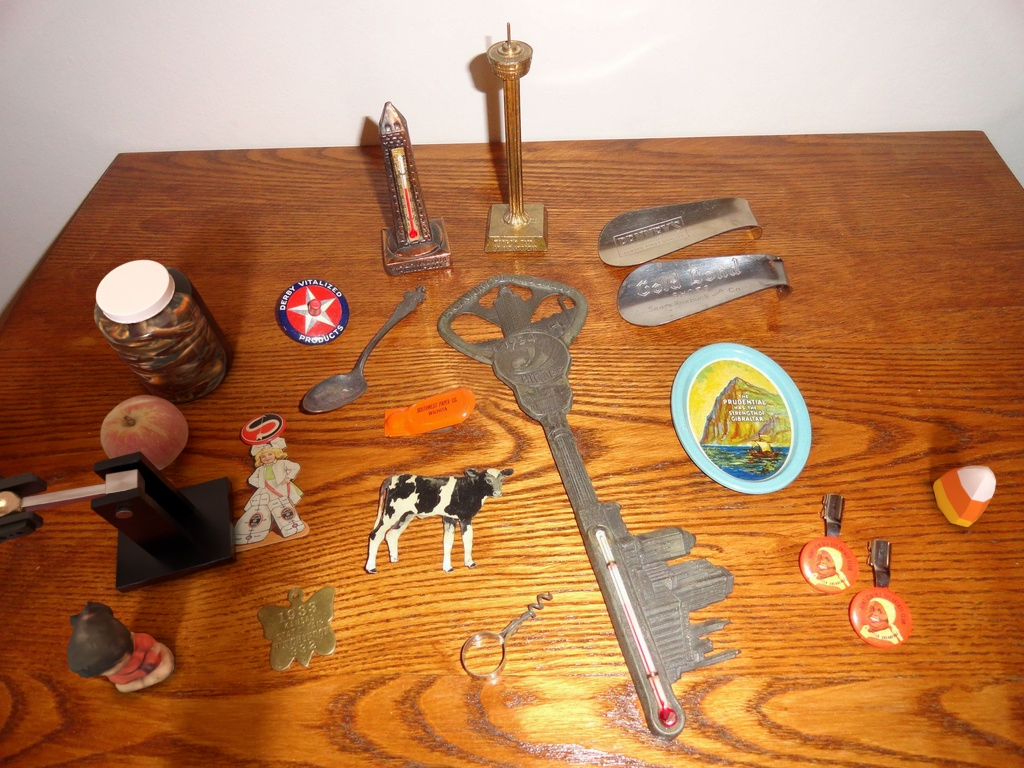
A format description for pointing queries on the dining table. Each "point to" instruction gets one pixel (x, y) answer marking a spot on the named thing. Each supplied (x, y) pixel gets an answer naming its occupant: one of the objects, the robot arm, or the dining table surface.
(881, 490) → the dining table surface
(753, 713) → the dining table surface
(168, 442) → the apple
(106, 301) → the jar
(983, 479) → the candy corn
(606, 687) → the dining table surface
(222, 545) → the bracket
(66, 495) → the lever
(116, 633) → the figurine
